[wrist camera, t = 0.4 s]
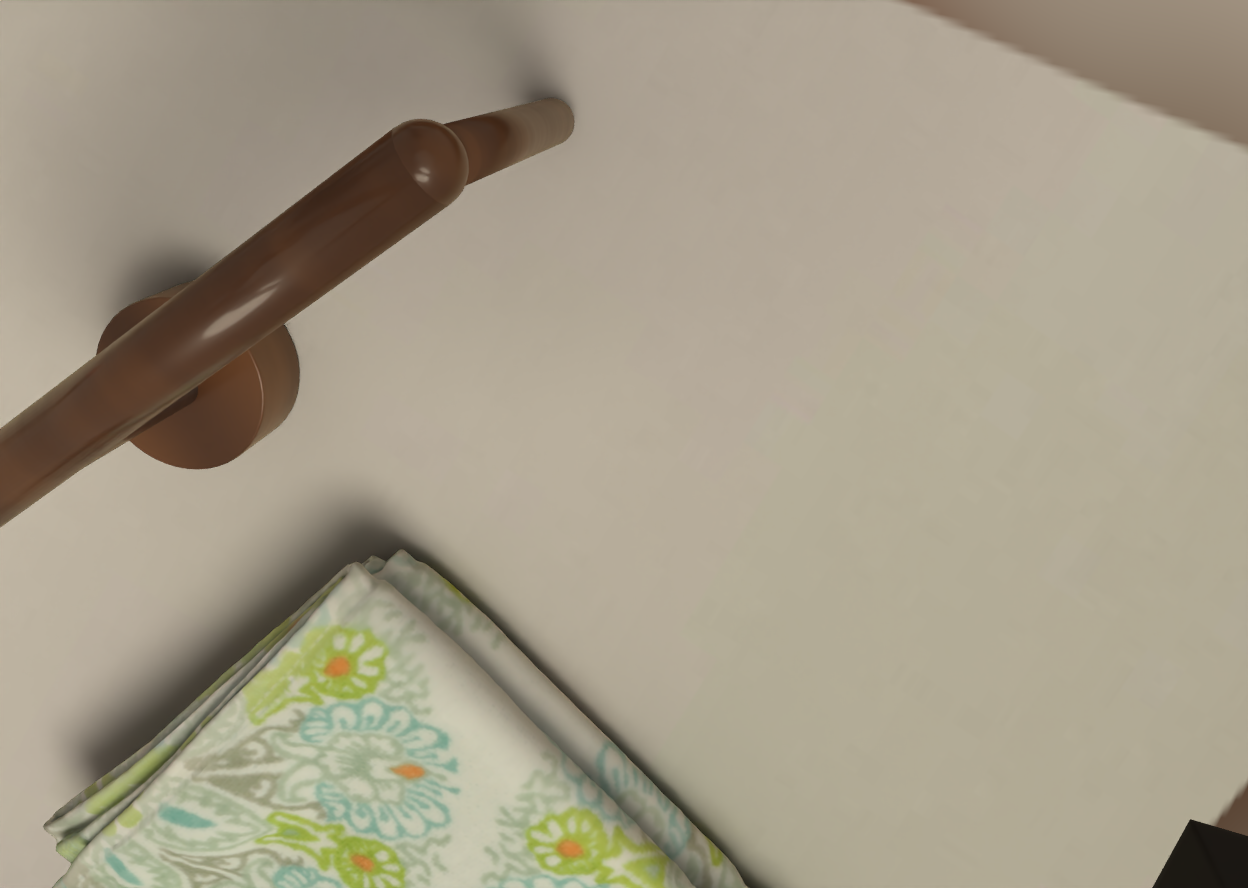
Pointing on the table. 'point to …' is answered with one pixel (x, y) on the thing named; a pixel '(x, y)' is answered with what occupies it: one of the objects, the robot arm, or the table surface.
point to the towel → (382, 766)
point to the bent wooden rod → (253, 311)
